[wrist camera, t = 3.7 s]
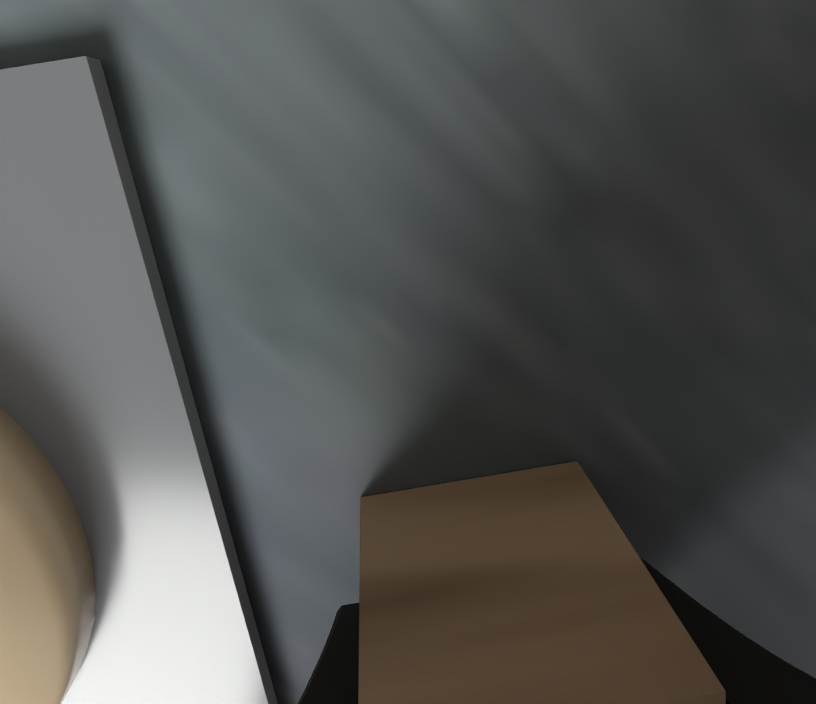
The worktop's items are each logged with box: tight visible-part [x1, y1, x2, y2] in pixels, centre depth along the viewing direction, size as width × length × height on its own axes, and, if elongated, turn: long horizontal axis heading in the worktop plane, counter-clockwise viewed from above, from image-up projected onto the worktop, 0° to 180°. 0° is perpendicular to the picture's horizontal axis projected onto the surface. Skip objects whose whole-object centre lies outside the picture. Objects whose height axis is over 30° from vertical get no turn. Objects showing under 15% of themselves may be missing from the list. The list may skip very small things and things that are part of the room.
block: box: [358, 461, 726, 704], centre depth 12 cm, size 4×4×6 cm
